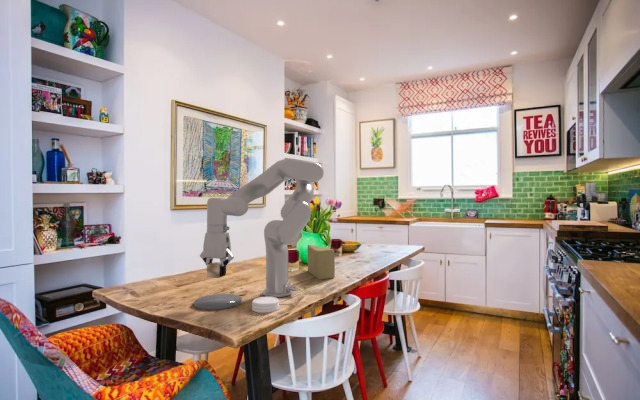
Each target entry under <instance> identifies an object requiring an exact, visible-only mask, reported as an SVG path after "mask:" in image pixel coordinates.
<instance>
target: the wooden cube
mask: <svg viewBox="0 0 640 400" xmlns="http://www.w3.org/2000/svg"><path fill="white" fill-rule="evenodd" d="M220 266H221V262H220V261H219V262H216V261H212V263H210V264H207V265H206V277H207V278H213V279H219V278H222V277H224V276H222V277H220Z"/></svg>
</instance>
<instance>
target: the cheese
mask: <svg viewBox="0 0 640 400" xmlns="http://www.w3.org/2000/svg"><path fill="white" fill-rule="evenodd" d="M306 255H307V256H306V257H307V272H309V273H310V274H311V275H312V276H314V277H315V278H316V279H317V280H321V281H322V280H328V279H329V278H330V279H334V278H335V275H336V273H335V272H336V271H335V270H336V269H335V268H336V267H335V258H336V257H335V249H332V248H328V247H323V246H318V245H314V244H308V245H307V254H306ZM330 279H329V280H330Z"/></svg>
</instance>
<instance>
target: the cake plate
mask: <svg viewBox="0 0 640 400" xmlns="http://www.w3.org/2000/svg"><path fill="white" fill-rule="evenodd" d="M242 302H243V301H242V297H241V296H240V295H237V294H233V293H232V294H231V293H217V294H209V295H205V296H202V297H198V298H196V299H195V300H194V301H193V307H194V308H195V309H198V310H201V311H222V310H228V309H232V308H236V307H238V306H240V305H241V304H242Z"/></svg>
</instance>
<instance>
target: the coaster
mask: <svg viewBox="0 0 640 400" xmlns="http://www.w3.org/2000/svg"><path fill="white" fill-rule="evenodd" d="M279 302H280V300H279V298H278V297H267V296H260V297H256V298H254V299H253V300H252V301H251V310H252V311H253V312H255V313H259V314H261V313H262V314H267V313H273V312H275V311H278V310H279V308H280V304H279Z"/></svg>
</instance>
